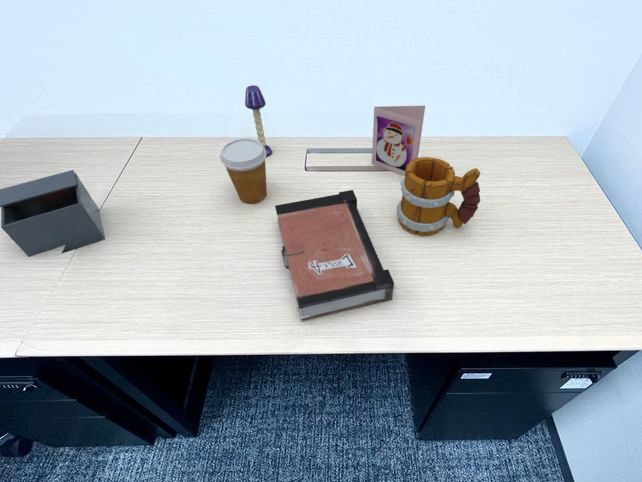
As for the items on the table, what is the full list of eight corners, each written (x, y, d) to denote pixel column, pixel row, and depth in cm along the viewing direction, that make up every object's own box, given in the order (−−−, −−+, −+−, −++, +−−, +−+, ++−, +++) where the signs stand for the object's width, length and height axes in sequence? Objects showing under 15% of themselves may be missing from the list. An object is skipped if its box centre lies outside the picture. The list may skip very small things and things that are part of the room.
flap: (0, 207, 73) (-2, 205, 73) (0, 191, 76) (-2, 189, 76) (77, 186, 77) (75, 184, 77) (74, 171, 80) (73, 169, 80)
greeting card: (369, 165, 99) (372, 108, 87) (384, 151, 103) (388, 94, 91) (411, 180, 95) (419, 123, 84) (424, 165, 99) (433, 108, 88)
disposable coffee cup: (266, 178, 95) (257, 132, 86) (279, 201, 90) (271, 156, 81) (227, 188, 93) (213, 143, 83) (237, 213, 87) (224, 168, 78)
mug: (402, 198, 91) (409, 139, 79) (474, 215, 87) (493, 156, 76) (388, 229, 84) (394, 170, 73) (466, 248, 81) (485, 190, 69)
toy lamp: (254, 148, 103) (241, 84, 91) (272, 145, 104) (261, 82, 91) (256, 158, 100) (242, 94, 88) (274, 156, 101) (263, 91, 88)
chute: (33, 262, 78) (1, 227, 70) (31, 228, 84) (1, 192, 76) (105, 239, 82) (81, 203, 74) (98, 208, 88) (75, 172, 81)
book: (274, 222, 85) (271, 204, 82) (352, 207, 89) (352, 189, 85) (297, 322, 69) (294, 305, 65) (392, 299, 72) (394, 283, 69)
